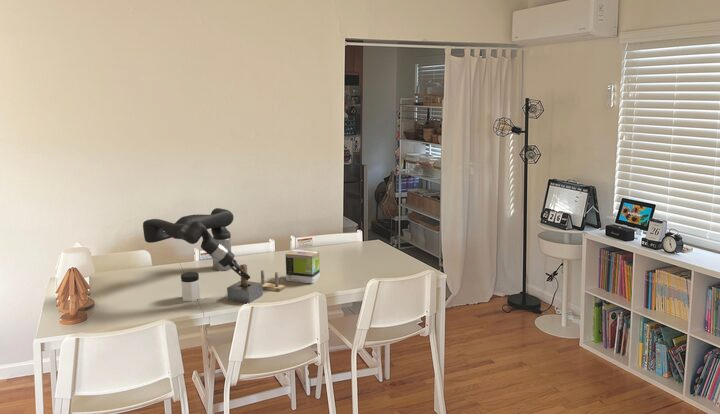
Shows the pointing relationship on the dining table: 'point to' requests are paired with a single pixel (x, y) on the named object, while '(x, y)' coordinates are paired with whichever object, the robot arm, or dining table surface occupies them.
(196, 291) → the jar
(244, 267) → the walnut pin
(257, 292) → the block
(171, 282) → the dining table surface
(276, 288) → the peg rack
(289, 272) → the tea box
